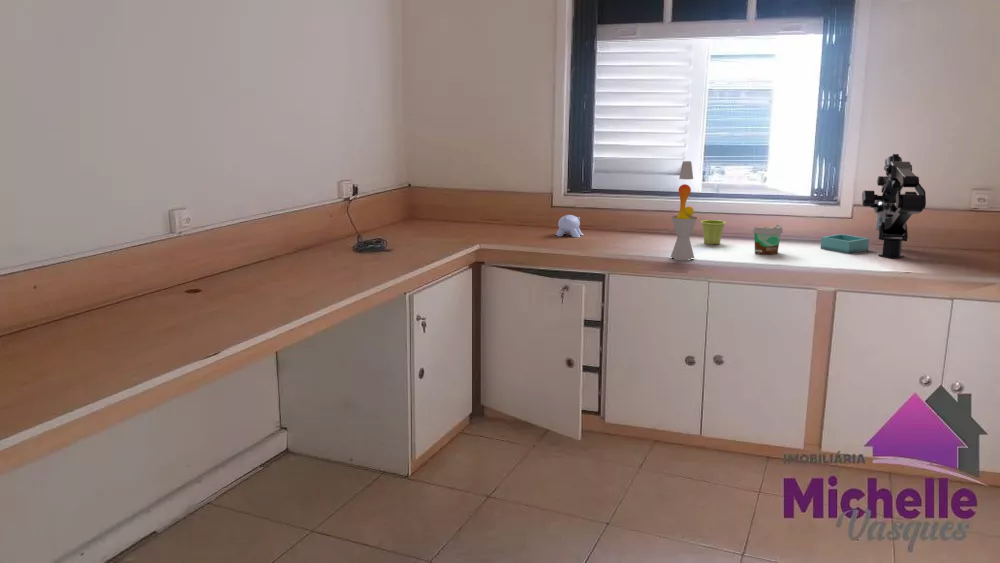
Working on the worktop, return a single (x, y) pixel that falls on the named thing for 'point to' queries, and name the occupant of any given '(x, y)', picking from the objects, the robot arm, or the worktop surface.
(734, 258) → the worktop surface
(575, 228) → the hippopotamus toy
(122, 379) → the worktop surface
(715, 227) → the plant pot
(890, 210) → the grey can
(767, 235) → the food container
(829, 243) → the teal bin
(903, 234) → the robot arm
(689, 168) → the lava lamp
